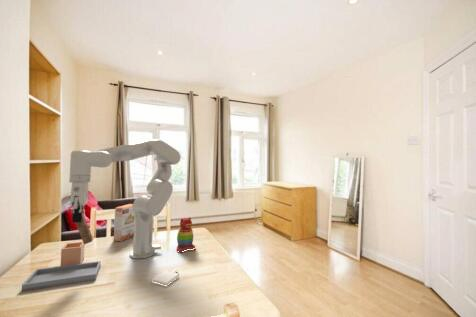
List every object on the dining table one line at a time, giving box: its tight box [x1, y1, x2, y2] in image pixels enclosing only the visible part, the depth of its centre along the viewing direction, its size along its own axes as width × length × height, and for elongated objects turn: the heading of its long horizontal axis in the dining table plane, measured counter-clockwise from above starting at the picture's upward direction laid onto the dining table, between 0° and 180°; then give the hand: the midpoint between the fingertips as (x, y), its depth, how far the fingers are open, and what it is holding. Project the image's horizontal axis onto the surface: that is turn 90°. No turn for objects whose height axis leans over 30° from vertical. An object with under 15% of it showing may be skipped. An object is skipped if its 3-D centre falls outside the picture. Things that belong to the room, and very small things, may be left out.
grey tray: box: [21, 260, 102, 292], centre depth 95 cm, size 24×13×2 cm, turn 114°
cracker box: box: [113, 203, 134, 243], centre depth 145 cm, size 14×6×21 cm, turn 168°
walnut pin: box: [70, 208, 94, 245], centre depth 98 cm, size 8×3×16 cm, turn 114°
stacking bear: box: [176, 217, 196, 253], centre depth 131 cm, size 11×10×18 cm
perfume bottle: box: [151, 268, 180, 285], centre depth 98 cm, size 8×2×12 cm
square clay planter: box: [60, 241, 86, 266], centre depth 108 cm, size 8×8×9 cm
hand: (77, 220), depth 97 cm, fingers closed on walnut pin, 3 cm apart
